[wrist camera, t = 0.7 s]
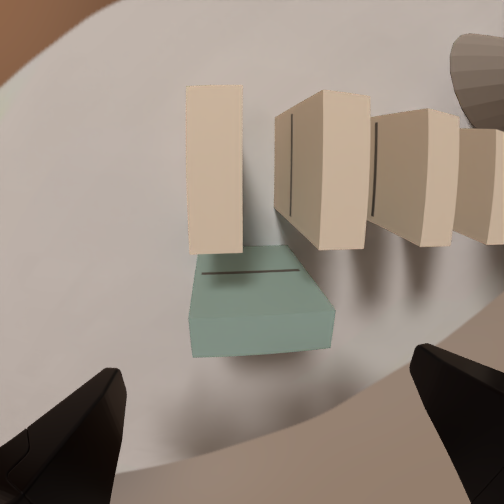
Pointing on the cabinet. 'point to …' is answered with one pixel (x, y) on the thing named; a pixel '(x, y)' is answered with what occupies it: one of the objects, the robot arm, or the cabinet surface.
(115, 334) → the cabinet surface
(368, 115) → the domino
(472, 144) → the end domino
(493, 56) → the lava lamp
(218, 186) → the domino
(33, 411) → the cabinet surface
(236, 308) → the domino
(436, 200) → the domino
